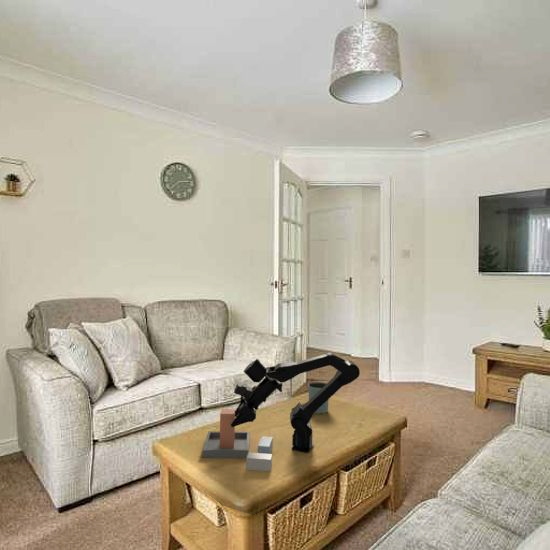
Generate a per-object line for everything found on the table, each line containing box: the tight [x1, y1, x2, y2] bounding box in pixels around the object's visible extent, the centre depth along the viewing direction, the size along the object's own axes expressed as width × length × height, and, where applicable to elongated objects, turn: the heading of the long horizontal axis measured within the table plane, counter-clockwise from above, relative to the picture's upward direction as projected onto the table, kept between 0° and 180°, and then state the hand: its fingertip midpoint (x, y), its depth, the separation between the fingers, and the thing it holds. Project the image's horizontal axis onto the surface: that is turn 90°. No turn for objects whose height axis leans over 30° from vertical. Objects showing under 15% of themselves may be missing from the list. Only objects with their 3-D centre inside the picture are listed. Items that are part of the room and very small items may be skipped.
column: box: [219, 408, 236, 448], centre depth 147 cm, size 5×5×12 cm
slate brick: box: [257, 436, 274, 454], centre depth 145 cm, size 8×4×4 cm, turn 172°
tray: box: [201, 430, 251, 459], centre depth 148 cm, size 16×16×3 cm
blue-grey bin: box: [307, 381, 330, 414], centre depth 188 cm, size 10×10×12 cm
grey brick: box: [245, 452, 273, 472], centre depth 133 cm, size 8×4×4 cm, turn 84°
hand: (232, 421), depth 147 cm, fingers open, 9 cm apart
